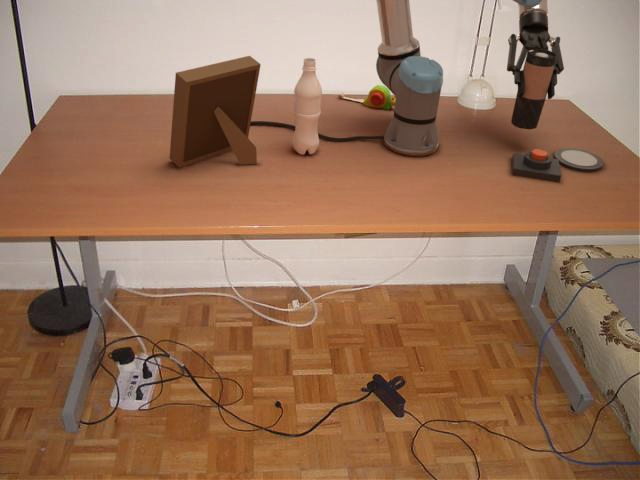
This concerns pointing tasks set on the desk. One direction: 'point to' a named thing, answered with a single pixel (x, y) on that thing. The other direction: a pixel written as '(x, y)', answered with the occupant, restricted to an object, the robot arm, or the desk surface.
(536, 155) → the button
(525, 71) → the travel mug
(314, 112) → the water bottle
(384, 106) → the toy measuring tape
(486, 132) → the desk surface
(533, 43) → the robot arm
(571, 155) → the plate
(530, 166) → the switch
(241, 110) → the photo frame
